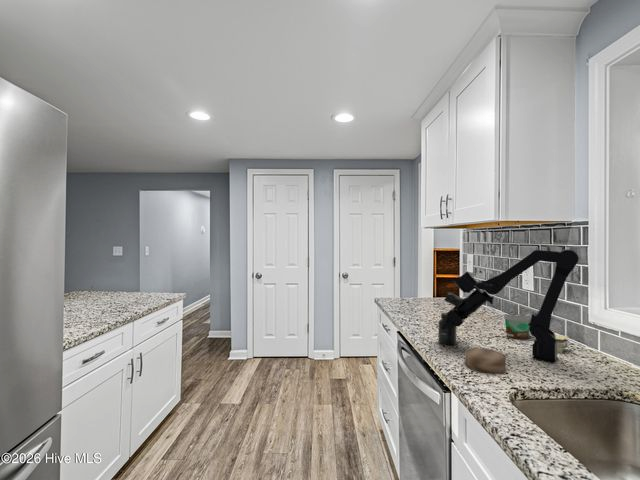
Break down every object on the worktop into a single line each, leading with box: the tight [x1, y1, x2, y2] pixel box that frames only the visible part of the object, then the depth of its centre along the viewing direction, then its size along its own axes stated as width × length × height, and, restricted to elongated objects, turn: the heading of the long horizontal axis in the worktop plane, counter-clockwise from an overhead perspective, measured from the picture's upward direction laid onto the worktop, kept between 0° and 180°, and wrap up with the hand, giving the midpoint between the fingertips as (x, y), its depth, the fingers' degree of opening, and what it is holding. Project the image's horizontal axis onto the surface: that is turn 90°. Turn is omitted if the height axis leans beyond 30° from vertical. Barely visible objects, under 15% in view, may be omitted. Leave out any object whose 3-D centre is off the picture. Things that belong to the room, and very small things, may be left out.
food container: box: [503, 312, 532, 340], centre depth 145 cm, size 12×6×10 cm, turn 105°
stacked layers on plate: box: [555, 334, 570, 354], centre depth 129 cm, size 10×9×6 cm
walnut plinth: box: [464, 347, 507, 374], centre depth 113 cm, size 12×12×4 cm
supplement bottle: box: [437, 312, 458, 347], centre depth 137 cm, size 7×7×12 cm
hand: (443, 326), depth 138 cm, fingers closed on supplement bottle, 7 cm apart
